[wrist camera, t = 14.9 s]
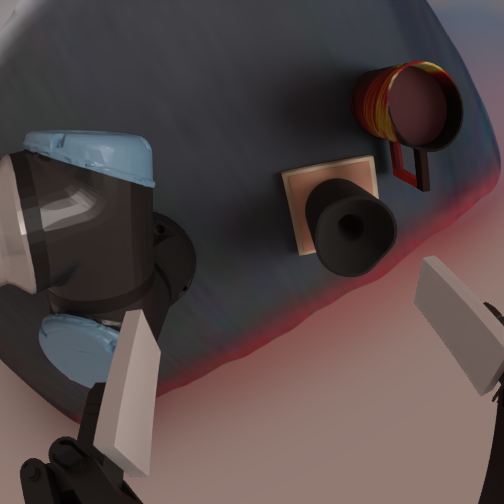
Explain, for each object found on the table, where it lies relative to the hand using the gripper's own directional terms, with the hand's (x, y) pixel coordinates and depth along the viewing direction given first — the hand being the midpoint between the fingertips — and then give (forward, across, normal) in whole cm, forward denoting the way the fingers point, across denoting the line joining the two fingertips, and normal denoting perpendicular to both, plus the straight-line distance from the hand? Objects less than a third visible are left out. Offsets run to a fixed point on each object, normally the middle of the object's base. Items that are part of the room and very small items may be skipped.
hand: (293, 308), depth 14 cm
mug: (+28, +21, +4) cm, 35 cm away
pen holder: (+27, +12, -8) cm, 30 cm away
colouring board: (+28, +12, -8) cm, 31 cm away
